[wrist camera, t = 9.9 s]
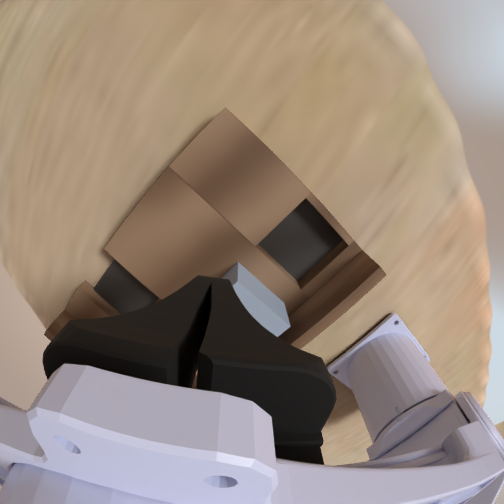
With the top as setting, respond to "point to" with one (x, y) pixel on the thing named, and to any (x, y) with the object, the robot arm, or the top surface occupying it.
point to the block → (259, 300)
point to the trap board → (231, 237)
